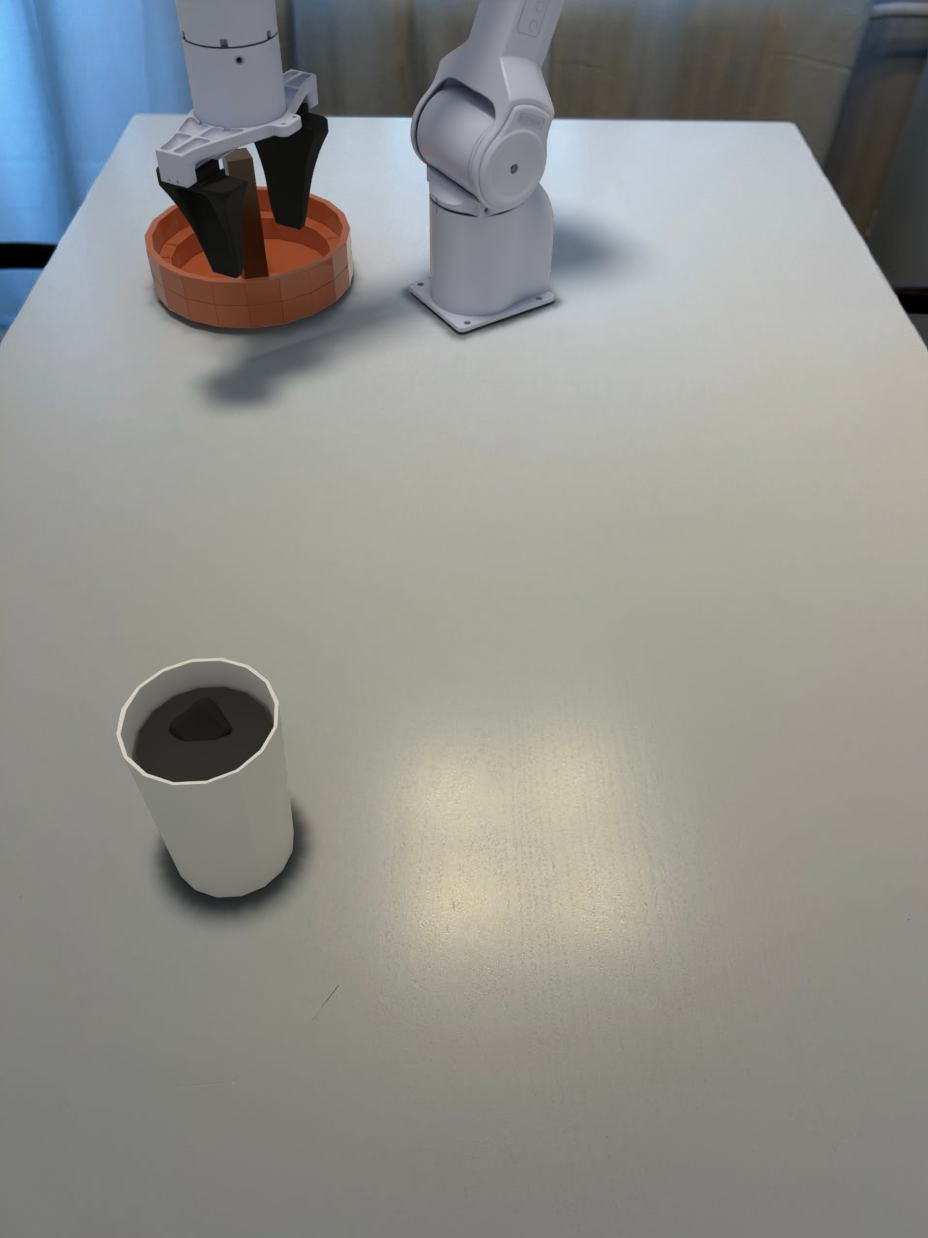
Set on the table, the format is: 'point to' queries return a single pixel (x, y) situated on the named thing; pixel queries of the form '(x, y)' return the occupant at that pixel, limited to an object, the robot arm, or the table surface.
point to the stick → (249, 214)
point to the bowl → (295, 289)
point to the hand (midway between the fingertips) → (259, 247)
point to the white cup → (212, 772)
